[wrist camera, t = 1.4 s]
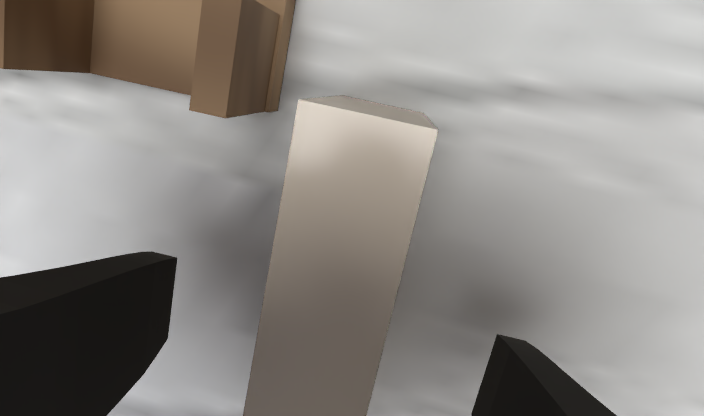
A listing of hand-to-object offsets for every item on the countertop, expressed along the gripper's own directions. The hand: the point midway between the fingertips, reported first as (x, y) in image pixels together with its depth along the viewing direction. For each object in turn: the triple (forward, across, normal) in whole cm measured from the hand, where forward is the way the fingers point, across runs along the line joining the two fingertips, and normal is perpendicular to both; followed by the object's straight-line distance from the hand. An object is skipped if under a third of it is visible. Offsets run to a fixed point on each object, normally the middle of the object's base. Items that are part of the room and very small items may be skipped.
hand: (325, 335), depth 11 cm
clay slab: (+5, 0, 0) cm, 5 cm away
